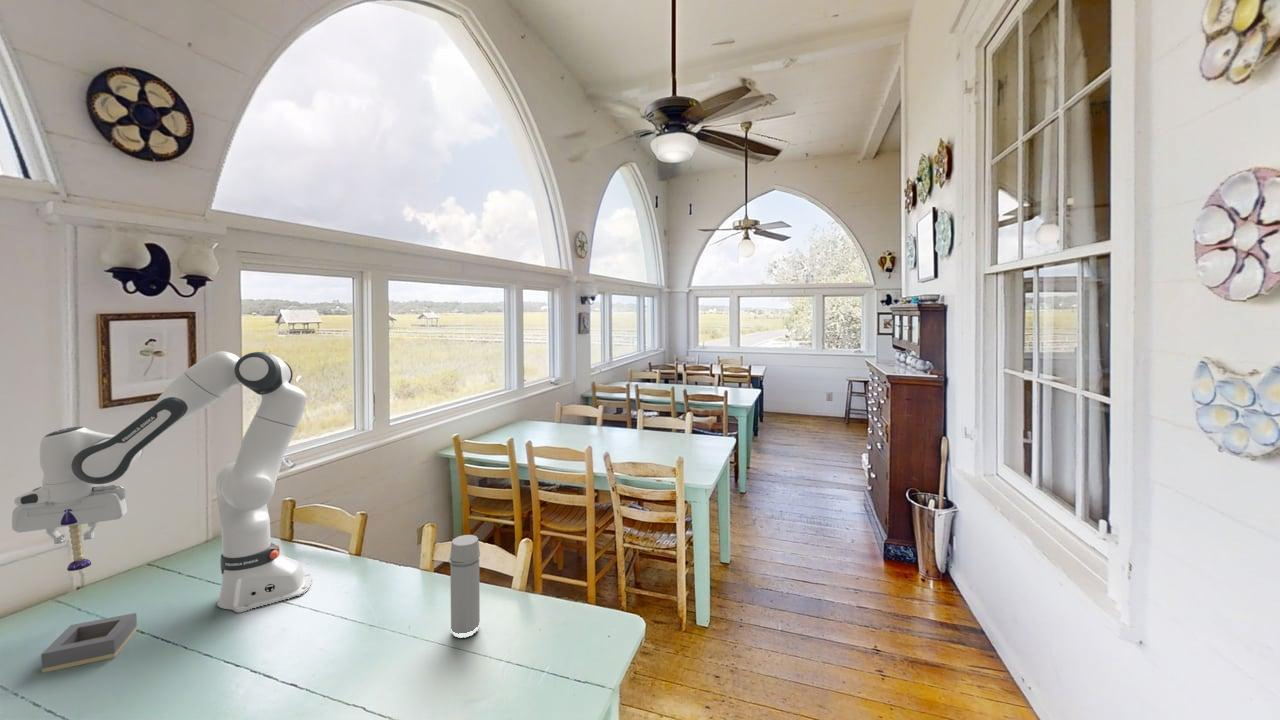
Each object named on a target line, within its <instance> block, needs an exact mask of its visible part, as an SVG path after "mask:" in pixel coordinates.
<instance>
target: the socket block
mask: <svg viewBox="0 0 1280 720" xmlns="http://www.w3.org/2000/svg"><path fill="white" fill-rule="evenodd" d="M137 622H138V621H137V612H133V613H128V614H122V615H118V616H117V615H116V616H112V617H108V618H107V617H106V618H101V619H96V620H91V621H86V622H79V623H74V624H70V625H69V626H68V627H67V628H65V630H64V631H63V632H62V633H60V635H59V636H58V637H57V638H56V639H55V640H54V641H53V642H52V643H51V644H50V645H49V646H48V647H46V649H45V650H44V651H43V652H42V653H41V654H40V655H41V657H40V659H41V671H42V672H41V673H48V672H53V671H54V672H55V671H58V670H63V669H67V668H71V667H77V666H81V665H85V664H90V663H95V662H99V661H106V660H109V659H113V658H115V657H117V656H118V654H119V653H120V651H121V650H122V649H123V648H124V647H125V645H126V644H127V643H128V641H130V640H131V638H132V637H133V635H134V633H136V631H137V630H138V625H137V624H138V623H137Z"/></svg>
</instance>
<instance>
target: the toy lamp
mask: <svg viewBox="0 0 1280 720" xmlns="http://www.w3.org/2000/svg"><path fill="white" fill-rule="evenodd" d="M69 511H73V510H71V509H66V510H65V511H64V512H66V513H65V514H64V516H63V518H62V520H61V523H60V524H61V525H70V524H75V523H77V519H76V518H75V517H74V515H73V514H72V513H70V512H69ZM68 528H69V529H68V531H69V534H70V535H69V538H70V544H71V550H72V556H73V561H72V562H70V563H69V564H68V566H67V568H66V570H67V571H68V572H75V571H79V570H83V569H85V568H88V567H90V566H91V565H92V562H91V560H89V558H84V555H83V549H82V547H83V545H82V543H81V542H82V539H81V533H80V527H79V525H72V526H68Z"/></svg>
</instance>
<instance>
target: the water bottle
mask: <svg viewBox="0 0 1280 720" xmlns="http://www.w3.org/2000/svg"><path fill="white" fill-rule="evenodd" d="M450 548H451V549H450V554H449V555H450V557H449V558H448V559H447V562H448V564H450V566H449V567H450V630H451V629H452V631H453V632H455V633H458V634H459V633H467V632H470V631H473V630H474V629H475V628H476V627H478V625H479V622H480V620H481V619H480V611H481V610H480V607H481V606H480V601H481V600H480V557H481V552H480V551H481V550H480V543H479V538H478V537H477V535H474V534H463V535H458V536H457V537H455V538H453V539H452V540H451V546H450Z"/></svg>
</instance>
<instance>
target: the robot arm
mask: <svg viewBox="0 0 1280 720" xmlns="http://www.w3.org/2000/svg"><path fill="white" fill-rule="evenodd" d="M293 376H294V374H293V369H292V367H291V366H290V364H289V363H287V362H286V361H284V360H283V359H282V358H280V357H278V356H277V355H273V354H270V353H267V352H262V351H254V352H249V353H246V354H245V355H243V356H241V357H239V356H237V355H236V354H234V353H233V352H229V351H223V350H220V351H215V352H213V353H212V354H209V355H207V356H206V357H204V358H202V359H200V360H199V361H198V362H196V363H194V364H193V365H192V366H190V367H188V369H185V371H183V372H182V373H181V374H180V375H178V376H177V377H176V378H175V379H174V380H173V381H172V382H171V383H170V384H169V385H168V386H167V387H166V388H165V389H164V391H162V393H161V394H160V395H159V397H157V399H156V400H155V401H154V402H153V403H152V404H151V406H150V407H149V408H148V409H147V410H146V411H144V413H143V414H141V415H140V416H139V417H138V418H137V419H135V420H134V421H132V422H131V423H130V424H129V425H127V426H126V427H125V428H124V429H122V430H121V431H120V432H118V433H117V434H110V433H109V434H108V433H104V432H99V431H95V430H92V429H90V428H87V427H85V426H73V427H68V428H63V429H59V430H56V431H52V432H49V433H48V434H46V435H44V437H42V438H41V440H40V444H39V465H40V466H39V468H40V469H41V470H42V472H43V477H42V480H41V481H42V482H41V485H42V486H39V487H35V488H34V489H31V490H28V491H27V492H24V493H22V494H20V495H18V496H17V497H15V498H14V500H13V501H14V505H16V507H15V508H14V509H13V510H12V514H11V526H12V527H11V528H12V530H13V531H14V532H16V533H18V534H20V533H26V532H28V533H29V532H34V531H40V530H41V531H42V530H45V532H46V534H47V535H48V536H50V538H52V539H53V544H54V545H58V544H60V545H61V544H64V543H65V542H66V541H67V536H66V534H61V533H60V532H59V531H58V530H59V528H63V527H69V526H72V525H78V526H80V525H85V524H86V525H87V527H88V528H89V530H88V531H85V532H84V533H83V534H82V535H83V540H84V541H86V540H93V539H95V536H96V533H95V531H96V529H97V528H98V527H99V525H100V523H101V522H109V521H115V520H120V519H121V518H122V517H124V516H125V515H126V514H127V513H128V506H127V505H128V504H127V501H126V499H125V498H126V489H125V487H123V486H121V485H118V484H110V485H104V484H109V483H112V482H115V481H116V480H118V479H120V478H121V477H123V476H124V475H125V473H126V472H127V470H130V468H131V467H132V466H134V465H135V464H136V463H137V462H138V461H139V460H140V458H142V456H143V450H144V448H145V447H146V446H148V445H149V444H150V443H152V442H153V441H154V440H155V439H156V438H158V437H159V436H160V435H161V434H163V433H164V432H165V431H167V430H168V429H170V428H171V427H172V426H175V425H176V424H178V423H180V422H182V421H184V420H186V419H188V418H190V417H192V416H194V415H196V414H197V413H199V412H201V411H203V410H205V409H207V408H208V407H210V406H212V405H214V403H216V402H217V401H218V400H220V399H221V398H222V397H223V396H224V395H226V394H227V393H229V392H230V391H231V390H232V389H234V388H236V387H238V386H240V385H243V386H245V387H246V388H248V389H249V390H251V391H252V392H254V393H255V394H257V395H259V396H261V400H260V404H259V407H258V408H257V410H256V412H255V413H254V416H253V418H252V420H251V422H250V424H249V425H248V427H247V430H246V432H245V434H244V435H243V437H242V439H241V442H240V447H239V451H238V453H237V457H236V460H235V461H233V462H229V463H228V464H226V465H224V466H223V467H222V468H221V469H220V470H219V472H218V474H217V476H216V478H215V487H216V489H215V490H216V499H217V508H218V513H219V521H220V528H221V531H220V532H221V545H222V546H221V547H222V549H221V550H222V553H221V554H220V558H219V563H220V565H219V567H220V571H221V572H220V573H221V575H222V577H221V587H220V592H219V597H218V599H217V602H216V605H217V607H219V609H220V608H221V609H225V610H231V611H233V612H235V613H243V612H247V610H248V611H251V610H253V609H252V608H255V609H257V608H256V607H259V606H262V607H264V606H263V605H266V604H270V605H272V604H271V603H273V604H275V603H274V602H277V603H279V602H278V601H281V600H284V601H286V600H285V599H288V598H292V597H295V596H299V595H301V594H303V593H304V592H305V591H306V590H307V589H308V588H309V587H310V588H311V586H312V584H311V581H312V582H313V577H312V575H311V573H310V572H307V571H306V572H304V571H303V567H302V565H301V563H300V562H299V561H298V560H296V559H294V558H290V557H287V556H285V555H283V554H280V551H281V549H280V543H279V542H277V544H275V543H272V542H271V518H270V515H269V509H268V505H267V504H268V503H269V502H270V501H271V500H272V499H273V496H274V494H275V493H274V492H275V485H276V482H277V479H278V476H279V473H280V470H281V466H282V463H283V459H284V457H285V454H286V451H287V449H288V447H289V444H290V442H291V440H292V438H293V436H294V435H295V432H296V429H297V428H298V426H299V423H300V422H301V419H302V417H303V413H304V412H305V411H304V410H305V407H306V403H307V394H306V392H304V390H302V389H301V388H300V387H298V386H295V385H292V384H291V383H292V380H293ZM96 485H98V486H96ZM99 485H101V486H99ZM66 509H71V510H73V511H69V512H70V513H72V514H73V515H74V517H75V518H76V519H77V523H75V524H70V525H61V524H60V523H61V520H62V518H63V516H64V514H65V513H66V512H64V511H65V510H66ZM306 576H308V577H306ZM310 585H311V586H310ZM310 588H309V589H310ZM304 594H305V593H304ZM304 594H303V595H304ZM301 596H302V595H301ZM299 597H300V596H299ZM295 598H296V597H295ZM292 599H293V598H292ZM288 600H289V599H288ZM281 602H282V601H281ZM266 606H267V605H266ZM259 608H260V607H259ZM250 609H251V610H250Z"/></svg>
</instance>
